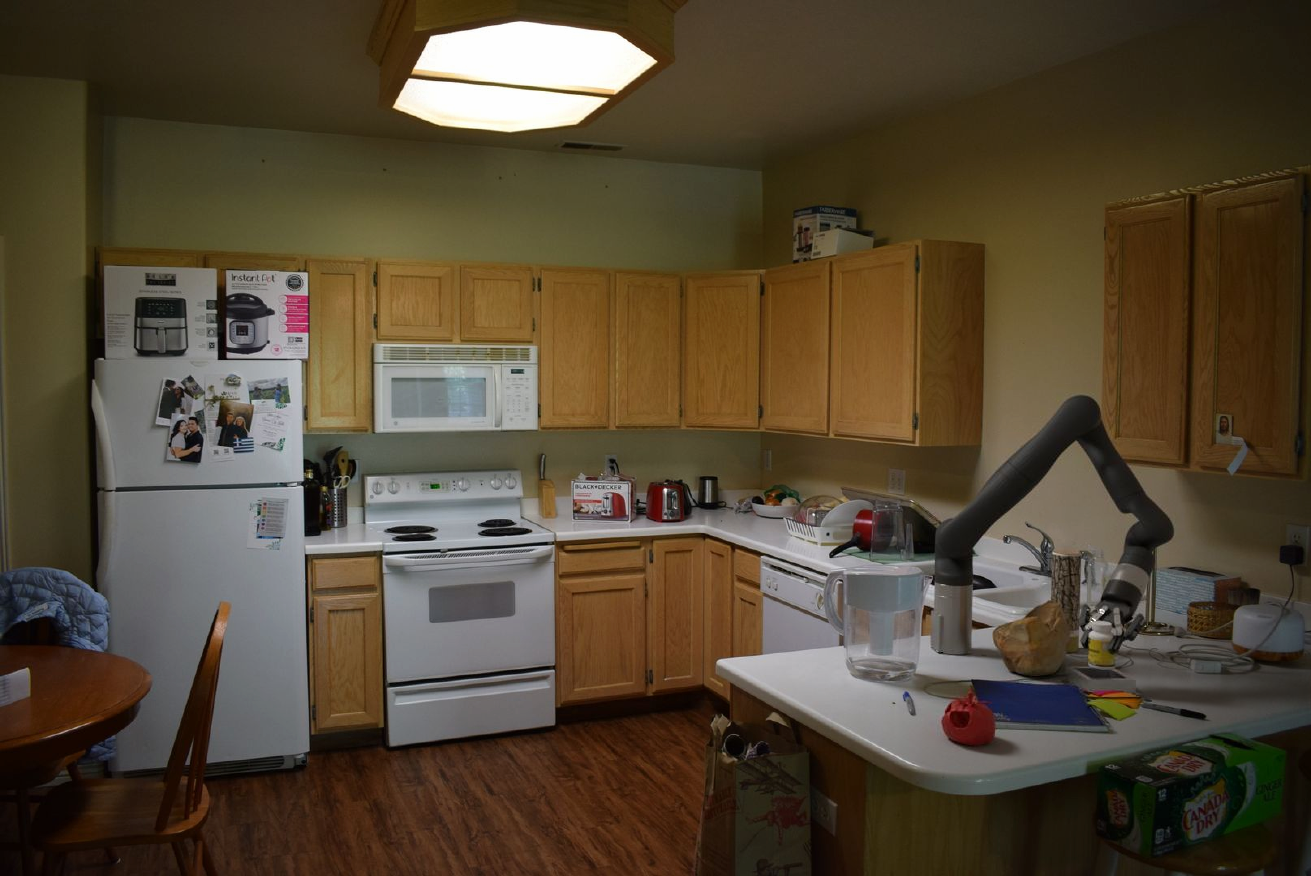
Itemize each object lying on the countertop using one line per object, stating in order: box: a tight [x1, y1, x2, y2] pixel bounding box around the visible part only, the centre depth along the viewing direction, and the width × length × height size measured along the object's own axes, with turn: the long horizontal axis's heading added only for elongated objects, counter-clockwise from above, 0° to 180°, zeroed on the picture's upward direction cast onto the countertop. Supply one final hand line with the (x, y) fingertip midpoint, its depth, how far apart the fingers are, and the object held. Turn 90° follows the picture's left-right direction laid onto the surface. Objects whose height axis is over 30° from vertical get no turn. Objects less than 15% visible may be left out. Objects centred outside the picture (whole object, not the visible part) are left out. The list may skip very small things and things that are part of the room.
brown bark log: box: [1050, 549, 1082, 654], centre depth 246 cm, size 7×7×25 cm
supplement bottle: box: [1087, 621, 1116, 670], centre depth 213 cm, size 5×5×10 cm
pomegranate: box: [940, 690, 996, 747], centre depth 181 cm, size 10×10×9 cm
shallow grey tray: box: [1059, 666, 1142, 698], centre depth 214 cm, size 12×12×4 cm
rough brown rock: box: [992, 599, 1070, 677], centre depth 232 cm, size 23×17×15 cm
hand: (1097, 649), depth 212 cm, fingers closed on supplement bottle, 5 cm apart
